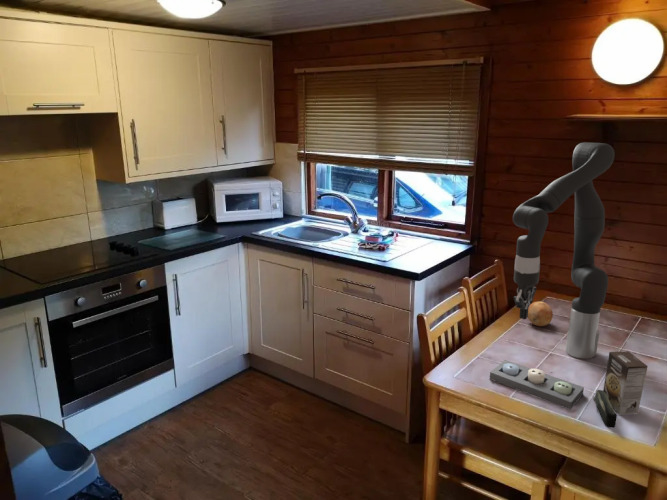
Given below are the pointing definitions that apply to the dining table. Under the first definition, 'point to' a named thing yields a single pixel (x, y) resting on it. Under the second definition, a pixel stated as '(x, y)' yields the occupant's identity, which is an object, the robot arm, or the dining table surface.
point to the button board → (537, 386)
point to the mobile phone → (605, 409)
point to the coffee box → (624, 382)
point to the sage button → (563, 388)
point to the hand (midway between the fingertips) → (523, 318)
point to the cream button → (536, 376)
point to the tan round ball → (540, 313)
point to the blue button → (510, 369)
